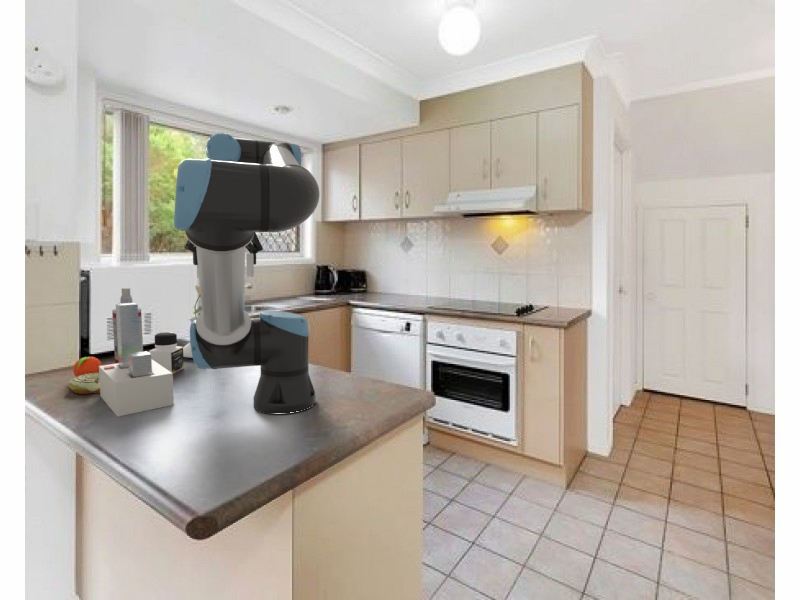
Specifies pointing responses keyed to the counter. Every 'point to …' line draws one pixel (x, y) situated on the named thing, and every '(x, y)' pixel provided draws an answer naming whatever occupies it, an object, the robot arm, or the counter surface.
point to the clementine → (86, 366)
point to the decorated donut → (85, 383)
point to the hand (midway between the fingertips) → (226, 277)
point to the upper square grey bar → (127, 331)
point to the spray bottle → (124, 299)
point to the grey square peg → (139, 364)
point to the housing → (135, 389)
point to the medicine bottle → (168, 352)
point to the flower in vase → (187, 348)
